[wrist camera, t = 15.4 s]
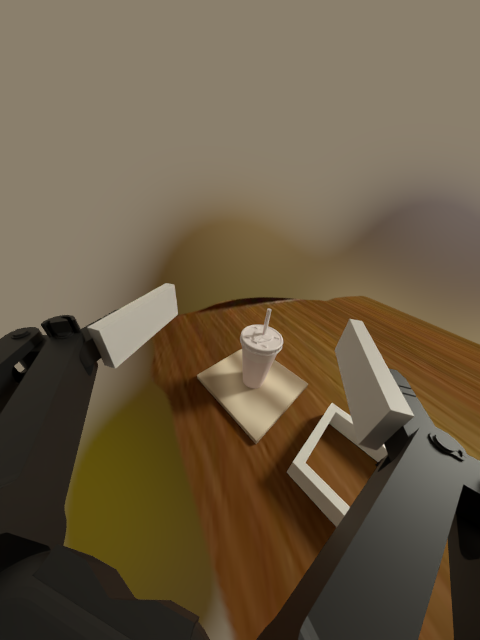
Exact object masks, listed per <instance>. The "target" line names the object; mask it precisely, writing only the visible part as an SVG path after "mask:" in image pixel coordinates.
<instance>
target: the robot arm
mask: <svg viewBox="0 0 480 640" xmlns="http://www.w3.org/2000/svg"><path fill="white" fill-rule="evenodd" d="M177 315H178V311H177V302H176V294H175V286H174V285H173V284H167V283H166V284H164V285H162V286H160V287H158V288H156V289H155V290H153V291H151V292H149V293H147V294H146V295H144V296H142V297H140V298H139V299H137V300H135V301H134V302H131V303H130V304H128V305H126V306H124V307H122V308H120V309H118V310H115V311H113V312H111V313H109V315H106V316H104V317H103V318H100V319H99V320H97V321H95V322H93V323H91V324H89V325H88V326H86V327H84V328H82V329H80V327H79V325H78V323H77V321H76V319H75V317H73V316H70V315H62V316H57V317H53V318H50V319H48V320H46V321H44V322H43V323H42V324H41V326H42V327H43V329H44V330H45V332H46V334H47V335H42V333H41V332H40V330H39V329H38V328H36V327H28V328H21V329H17V330H15V331H13V332H10V333H9V334H7V335H5V336H4V337H2V338H1V339H0V640H210V639H209V637H208V636H207V634H206V632H205V630H204V629H203V628H202V626H201V625H200V623H199V622H198V620H199V616H197V615H195V614H194V613H192V612H190V611H188V610H187V609H185V608H183V607H181V606H180V605H178V604H176V603H174V602H172V601H171V600H139V599H136V598H135V597H134V595H133V594H132V592H131V591H130V589H129V588H128V587H127V585H126V584H125V582H124V580H123V579H122V578H121V576H120V574H119V573H118V572H117V570H116V569H114V568H112V567H111V566H109V565H107V564H105V563H104V562H102V561H100V560H98V559H97V558H95V557H93V556H91V555H88V554H85V553H82V552H79V551H77V550H74V549H71V548H68V547H65V546H63V544H64V539H65V533H66V516H65V511H64V505H65V500H66V496H67V492H68V487H69V483H70V479H71V475H72V471H73V467H74V463H75V459H76V455H77V450H78V446H79V442H80V438H81V434H82V430H83V426H84V422H85V418H86V414H87V410H88V405H89V401H90V397H91V393H92V389H93V385H94V381H95V376H96V373H97V368H98V363H97V361H98V360H99V359H100V358H102V360H103V362H104V365H106V366H109V367H112V368H117V367H118V366H119V365H120V364H121V363H122V362H124V361H125V360H126V359H127V358H128V357H129V356H130V355H131V354H133V353H134V352H135V351H136V350H137V349H138V348H140V347H141V346H142V345H143V344H144V343H145V342H146V341H148V340H149V339H150V338H151V337H152V336H153V335H155V334H156V333H157V332H158V331H159V330H160V329H162V328H163V327H164V326H165V325H166V324H167V323H168V322H170V321H171V320H172V319H173V318H174V317H175V316H177ZM335 352H336V356H337V360H338V365H339V369H340V373H341V377H342V381H343V385H344V389H345V393H346V397H347V401H348V405H349V409H350V413H351V417H352V421H353V425H354V430H355V434H356V438H357V442H358V445H361V446H364V447H367V448H370V449H373V450H378V449H379V448H380V447H382V446H383V445H385V448H386V450H387V453H388V454H387V455H386V456H385V457H384V458H383V459H381V460H380V461H379V462H378V463H377V464H375V465H376V466H377V468H376V470H375V471H374V473H373V474H372V476H371V477H370V479H369V480H368V482H367V483H366V485H365V486H364V488H363V489H362V491H361V492H360V494H359V495H358V497H357V498H356V500H355V501H354V502H353V504H352V505H351V507H350V508H349V510H348V511H347V513H346V514H345V516H344V517H343V519H342V520H341V522H340V523H339V525H338V526H337V528H336V529H335V531H334V532H333V534H332V535H331V536H330V538H329V539H328V541H327V542H326V544H325V545H324V547H323V548H322V550H321V551H320V553H319V554H318V556H317V557H316V559H315V560H314V562H313V563H312V565H311V566H310V568H309V569H308V570H307V572H306V573H305V575H304V576H303V578H302V579H301V581H300V582H299V584H298V585H297V587H296V588H295V590H294V591H293V593H292V594H291V596H290V597H289V599H288V600H287V602H286V603H285V605H284V606H283V607H282V609H281V610H280V612H279V613H278V615H277V616H276V617H275V618H274V620H273V621H272V622H271V623H270V624H269V625H268V626H267V627H266V628H265V629H264V630H263V632H262V633H261V634H260V635H259V637H258V638H257V639H256V640H418V637H419V634H420V631H421V627H422V624H423V620H424V617H425V613H426V610H427V607H428V603H429V600H430V596H431V593H432V590H433V586H434V583H435V579H436V576H437V572H438V569H439V566H440V562H441V559H442V555H443V552H444V549H445V545H446V542H447V538H448V550H449V565H450V581H451V597H452V612H453V628H454V640H480V461H479V460H477V459H475V458H473V457H471V456H469V455H467V453H466V451H465V450H464V448H463V447H462V446H461V445H460V444H459V443H458V442H457V441H456V440H455V439H454V438H453V437H451V436H450V435H449V434H448V433H446V432H444V431H442V430H441V429H439V428H437V427H435V425H434V424H433V422H432V421H431V419H430V417H429V416H428V414H427V413H426V411H425V409H424V408H423V406H422V404H421V403H420V401H419V400H418V398H416V395H415V393H414V392H413V390H411V387H410V385H409V383H408V382H407V380H406V379H405V378H404V377H403V376H402V375H401V374H400V373H399V372H398V371H397V370H393V369H389V368H388V367H387V365H386V363H385V362H384V360H383V358H382V356H381V354H380V353H379V351H378V349H377V347H376V345H375V343H374V342H373V340H372V338H371V336H370V334H369V333H368V331H367V329H366V327H365V325H364V324H363V322H362V321H358V320H353V319H350V320H349V322H348V324H347V326H346V328H345V330H344V332H343V334H342V336H341V338H340V340H339V342H338V344H337V346H336V349H335ZM18 362H20V363H21V365H22V366H23V367H24V368H25V369H24V370H23V371H22V372H18V371H17V369H16V368H15V367H14V365H15V364H17V363H18Z"/></svg>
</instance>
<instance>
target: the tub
mask: <svg viewBox="0 0 480 640" xmlns="http://www.w3.org/2000/svg"><path fill="white" fill-rule="evenodd" d="M328 424H330V425H332V426H333V427H334V428H335V429H337V430H338V431H339V432H340V433H342V434H343V435H344V436H345V437H347V438H348V439H349V440H350V441H352V442H353V443H354V444H356V445H357V446H358V447H359V448H361V449H362V450H363V451H364V452H366V453H367V454H368V455H369V456H371V457H372V458H373V459H374V460H376V461H377V462H379V461H380V460H381V459H383V458H384V457H385V456H386V455H387V454H388V453H387V450H386V448H385V445H383V446H382V447H380V448H379V449H378V450H373V449H370V448H367V447H364V446H361V445H358V442H357V438H356V434H355V430H354V425H353V421H352V417H351V416H350V415H348V414H347V413H345V412H344V411H343V410H341V409H340V408H338V407H337V406H336V405H334V404H333V403H331V405H330V406H329V408H328V409H327V411H326V412H325V414H324V415H323V417H322V418H321V420H320V421H319V423H318V424H317V426H316V427H315V429H314V430H313V432H312V433H311V435H310V436H309V438H308V440H307V441H306V443H305V444H304V446H303V447H302V449H301V450H300V452H299V453H298V455H297V456H296V458H295V459H294V461H293V462H292V464H291V466H290V467H289V469H288V470H287V473H288V475H289V476H290V477H291V478H292V479H293V480H294V481H295V482H296V483H297V484H298V486H299V487H300V488H301V489H302V490H303V491H304V492H305V493H306V494H307V495H308V497H309V498H310V499H311V500H312V501H313V502H314V503H315V504H316V505H317V506H318V508H319V509H320V510H321V511H322V512H323V513H324V514H325V515H326V516H327V517H328V519H329V520H330V521H331V522H332V523H333V524H334V525H335V526H336V527H337V526H338V525H339V523H340V522H341V520H342V519H343V517H344V516H345V514H346V513H347V511H348V510H349V508H350V507H349V506H348V505H347V504H346V503H345V502H344V501H343V500H342V499H341V498H340V497H339V496H338V495H337V494H336V493H335V492H334V491H333V490H332V489H331V488H330V487H329V486H328V485H327V484H326V483H325V482H324V481H323V480H322V479H321V478H320V477H319V476H318V475H317V474H316V473H315V472H314V471H313V470H312V469H311V468H310V467H309V466H308V465H307V464H306V463H305V462H306V460H307V459H308V457H309V455H310V454H311V452H312V450H313V449H314V447H315V445H316V444H317V442H318V441H319V439H320V437H321V436H322V434H323V432H324V431H325V429H326V427H327V426H328Z"/></svg>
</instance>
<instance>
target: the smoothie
mask: <svg viewBox="0 0 480 640" xmlns="http://www.w3.org/2000/svg"><path fill="white" fill-rule="evenodd" d="M270 314H271V309H267V314H266V318H265V323H264V325H251V326H248V327H246V328H244V329H243V330H242V332H241V337H240V342H241V344H242V372H243V382H244V384H245V385H246V386H247V387H249V388H253V389H256V388H259V387H261V386H262V384H263V382H264V380H265V378H266V376H267V374H268V372H269V370H270V367H271V365H272V363H273V361H274V359H275V357H276V355H277V353H278V352H280V350H281V349H282V344H283V338H282V336H281V334H280V333H279V332H278V331H276V330H275V329H273V328H271V327H268V323H269V319H270Z"/></svg>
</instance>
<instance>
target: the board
mask: <svg viewBox="0 0 480 640" xmlns="http://www.w3.org/2000/svg"><path fill="white" fill-rule="evenodd" d="M197 379H198V380H199V381H200V382H201V383H202V384H203V385H204V386H205V388H206V389H207V390H208V391H209V392H210V393H211V394H212V395H213V397H214V398H215V399H216V400H217V401H218V402H219V403H220V404H221V406H222V407H223V408H224V409H225V410H226V411H227V412H228V413H229V415H230V416H231V417H232V418H233V419H234V420H235V421H236V422H237V423H238V425H239V426H240V427H241V428H242V429H243V430H244V431H245V432H246V434H247V435H248V436H249V437H250V438H251V439H252V440H253V441H254V443H255V444H257V443H258V441H259V440H260V439H261V438H262V437H263V436H264V435H265V433H266V432H267V431H268V430H269V429H270V428H271V427H272V426H273V424H274V423H275V422H276V421H277V420H278V419H279V418H280V416H281V415H282V414H283V413H284V412H285V411H286V410H287V408H288V407H289V406H290V405H291V404H292V403H293V402H294V401H295V399H296V398H297V397H298V396H299V395H300V394H301V393H302V391H303V390H304V389H305V388H306V387H307V385H308V383H306V382H305V381H303V380H302V379H301V378H299V377H298V376H296V375H295V374H294V373H292V372H291V371H289V370H288V369H287V368H285V367H284V366H282V365H281V364H280V363H278V362H277V361H275V360H274V361H273V363H272V365H271V367H270V370H269V372H268V374H267V376H266V378H265V380H264V382H263V384H262V386H261V387H259V388H256V389H253V388H249V387H247V386H246V385H245V384H244V382H243V372H242V349H241V350H239V351H237V352H235V353H234V354H232V355H230V356H229V357H227V358H225V359H224V360H222V361H220V362H219V363H217V364H215V365H213V366H212V367H210V368H208V369H207V370H205V371H203V372H202V373H200V374H198V375H197Z"/></svg>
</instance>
